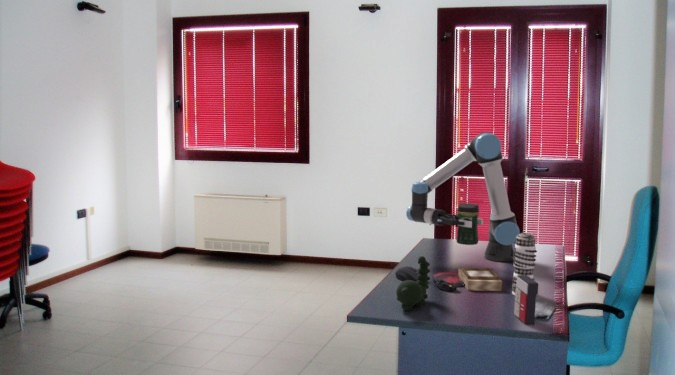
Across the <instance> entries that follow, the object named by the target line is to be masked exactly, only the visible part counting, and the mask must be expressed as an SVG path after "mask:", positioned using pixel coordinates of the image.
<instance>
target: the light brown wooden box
mask: <svg viewBox="0 0 675 375" xmlns="http://www.w3.org/2000/svg"><path fill="white" fill-rule="evenodd" d="M457 275H458V276H459V277H460V279H461V280H462V281H463V282H464V284H465V286H464V287H465V288H466V290H467V291H481V292H482V291H490V292H492V291H493V292H502V291H503V290H502V289H503V281H502V280H501V279H500V276H499V275H498V274H497V273H496V272H495V271H494V270H493V269H492V268H490V267H461V268H458V274H457ZM460 279H459V280H460ZM461 280H460V281H461ZM464 284H463V285H464Z"/></svg>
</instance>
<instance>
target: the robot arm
mask: <svg viewBox="0 0 675 375" xmlns="http://www.w3.org/2000/svg"><path fill="white" fill-rule="evenodd" d="M502 153H503V152H502V142H501V140H500V139H499V137H498V136H497V135H496V134H494V133H490V132H480V133H478V134H477V135H476V136H475V137H474V138H473V139H471V140H470V141H468V143H466V144H465V145H464V148H463V149H462V150H460V151H459V152H457V153H456V154H455V155H453V156H452V157H451V158H449V159H447V161H445V162H444V163H442V164H441V165H440V166H438V167H437V168H436V169H434V170H432V171H431V173H429V174H428V175H426V176H425V177H423V179H421V180H419V181H414V182H413V183H412V185H411V186H412V187H411V205H409V206H408V207H407V209H406V210H407V211H406V213H405V214H406V218H407V219H408V220H409V221H411V222H416V223H423V224H429V226H432V225H434V226H441V227H442V226H444V225H448V226H451V227H455V228H458V225H459V226H463V227H470V228H472V221H465V220H459V217H458V214H455V213H453V214H450V213H447V212H446V211H445V210H444V209H437V208H432V207H428V196H429V195H428V194H430V193H431V192H432V191H434V190H435V189H436V188H438V187H439V186H440V185H442V184H443V183H445V182H446V181H447V180H449V179H450V178H452V177H453V176H454V175H455V174H457V173H458V172H460V171H461V170H462V169H464V168H465V167H467V166H468V165H470V164H471V163H473V162H477V164H478V165H480V167H482V173H483V176H484V181H485V185H486V191H487V195H488V200H489V205H490V210H491V213H490V215H489V226H488V227H489V228H488V229H489V231H488V243H487V245H486V248H485V251H484V256H483V258H484V259H486V260H489V261H493V262H501V263H502V262H504V263H505V262H508V263H509V262H513V261H514V259H513V258H514V257H515V256H514V255H513V253H514V251H513V250H514V245H513V244H516V236H517V235H518V234H519V233H521V232H520V227H519V225H518V224H517V220H516V215H515V213H514V212H513V211H511V206H510V202H509V197H508V192H507V189H506V184H505V179H504V173H503V169H502V165H501V162H502V161H503V159H504V158H503V157H504V156H503V154H502ZM483 222H484V218H477V226H483V224H484V223H483Z"/></svg>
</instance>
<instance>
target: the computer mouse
mask: <svg viewBox="0 0 675 375" xmlns="http://www.w3.org/2000/svg"><path fill="white" fill-rule="evenodd" d="M418 270H419V268H415V267H412V266H408V265H407V266H401V267H399V268H398V269H397V270H396V271H395V272H394V275H395V277H396V279H397V280H399V281H401V282H403V281H406V280H412V281H415V282H417V280H418V279H417V276H418V274H419V271H418ZM427 283H428V284H433V285H436V286H437V287H438V289H441V290H443V291H445V292H448V293H450V292H456V291H457V289H458V285H457V284H454V283H451V282H448V281H445V280H442V279H440V280H437V281H436V282H433V281H427Z"/></svg>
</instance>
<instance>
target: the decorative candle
mask: <svg viewBox="0 0 675 375" xmlns="http://www.w3.org/2000/svg"><path fill="white" fill-rule="evenodd" d="M536 239H537V237H535V235H534V234H532V233H530V232H520V233H519V234H518V235H517V236H516V242H515V243H514V244H515V245H514V247H513V249H514V250H513V251H514V253H513V255H514V256H515V257H514V258H513V259H514V261H512V264H513V267H514V270H513V276H512V284H511V294H512V295H513V296H515V291H516V288H517V286H516V284H517V276H518V275H527V276H529V277H530V278H531V279H533V280H534V281H535V277H534V270H535V269H534V268H535V266H536V264H535V263H534V262H536V261H537V259H536V257H537V255H536V254H535V253H537V252H538V251H537V250H536V249H537V247H536Z"/></svg>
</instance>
